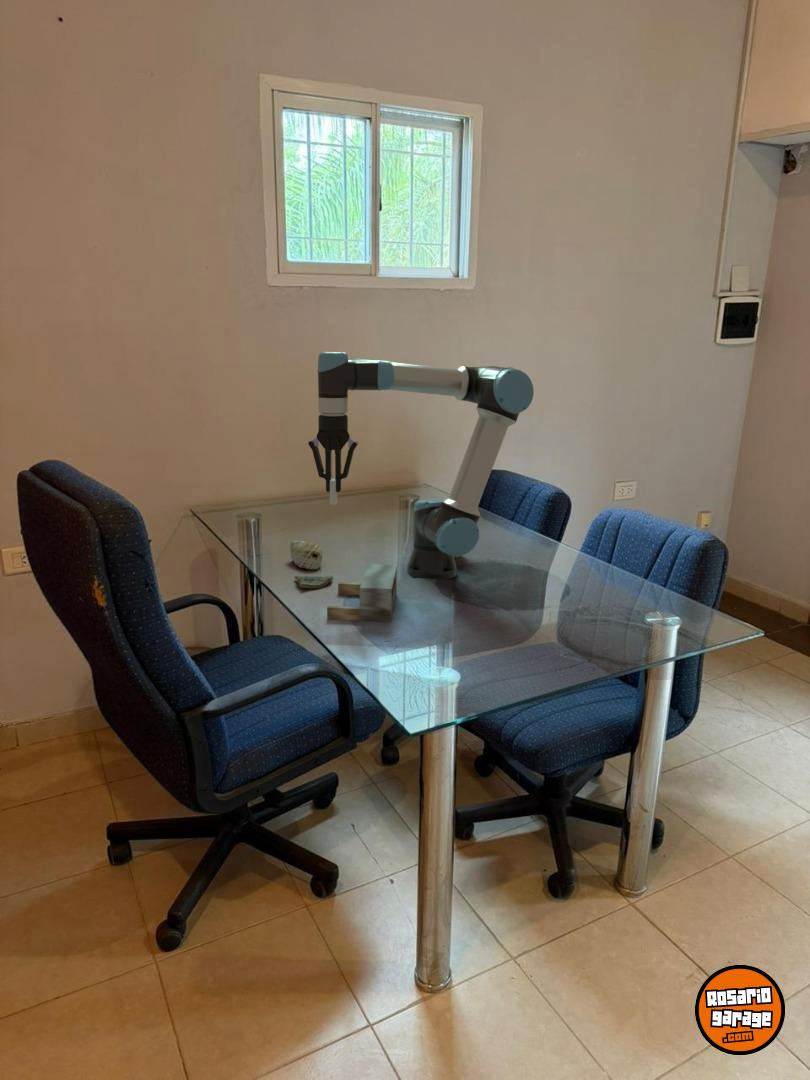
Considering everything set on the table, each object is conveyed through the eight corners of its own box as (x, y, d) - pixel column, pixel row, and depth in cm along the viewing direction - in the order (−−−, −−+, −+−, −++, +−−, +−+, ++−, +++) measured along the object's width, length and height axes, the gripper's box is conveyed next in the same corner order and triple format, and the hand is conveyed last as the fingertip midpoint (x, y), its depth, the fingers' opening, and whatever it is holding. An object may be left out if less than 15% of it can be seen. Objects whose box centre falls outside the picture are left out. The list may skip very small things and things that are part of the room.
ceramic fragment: (295, 584, 202) (294, 568, 212) (295, 594, 204) (294, 578, 213) (335, 585, 204) (332, 569, 214) (334, 595, 206) (332, 579, 215)
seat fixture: (396, 595, 202) (397, 565, 200) (390, 621, 184) (391, 589, 181) (338, 592, 203) (338, 562, 201) (327, 619, 184) (327, 586, 182)
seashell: (320, 569, 218) (309, 536, 217) (291, 578, 221) (279, 546, 220) (331, 562, 228) (320, 531, 227) (303, 571, 230) (292, 540, 230)
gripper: (360, 413, 195) (359, 501, 201) (310, 411, 195) (311, 500, 202) (356, 416, 188) (356, 507, 194) (305, 414, 188) (306, 506, 195)
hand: (333, 503), depth 198 cm, fingers closed
